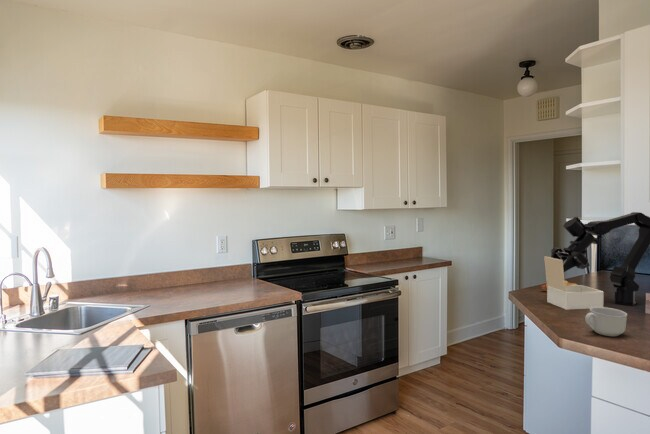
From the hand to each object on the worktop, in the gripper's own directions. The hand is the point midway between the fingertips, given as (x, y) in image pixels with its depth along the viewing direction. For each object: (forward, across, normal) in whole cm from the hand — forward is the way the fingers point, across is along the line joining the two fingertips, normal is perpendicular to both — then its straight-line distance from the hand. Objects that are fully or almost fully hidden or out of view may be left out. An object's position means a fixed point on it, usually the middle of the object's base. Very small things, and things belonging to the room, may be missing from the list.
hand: (555, 270), depth 192 cm
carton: (+4, 0, -17) cm, 17 cm away
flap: (+1, 0, -1) cm, 1 cm away
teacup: (+16, -40, -6) cm, 43 cm away
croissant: (-2, +23, -24) cm, 33 cm away
